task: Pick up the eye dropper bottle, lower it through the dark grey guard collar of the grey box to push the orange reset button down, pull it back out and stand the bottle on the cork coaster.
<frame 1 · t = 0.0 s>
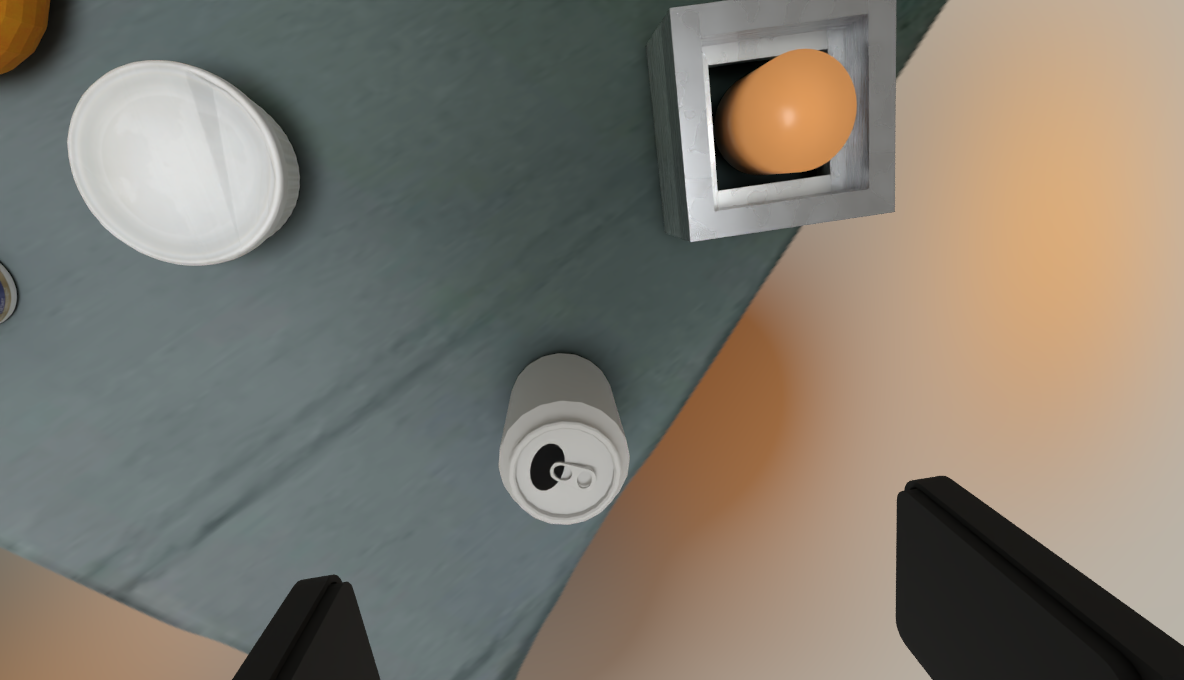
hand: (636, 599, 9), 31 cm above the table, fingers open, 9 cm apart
grey box: (743, 130, 37), on the table
ramekin: (230, 171, 36), on the table
reset button: (779, 118, 31), point 6 cm above the table, slide at 0.0 cm
can: (561, 396, 42), on the table
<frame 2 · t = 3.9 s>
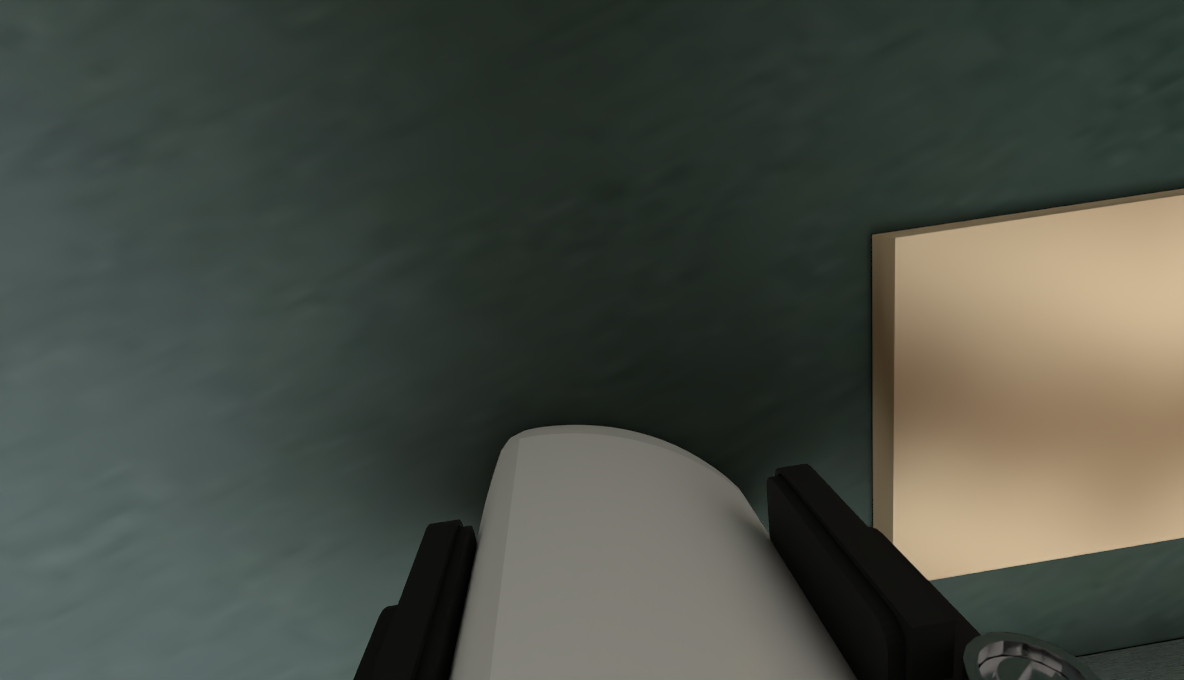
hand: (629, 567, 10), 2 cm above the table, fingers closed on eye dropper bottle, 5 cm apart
eye dropper bottle: (614, 491, 13), on the table, touching gripper
coaster: (1043, 386, 13), on the table
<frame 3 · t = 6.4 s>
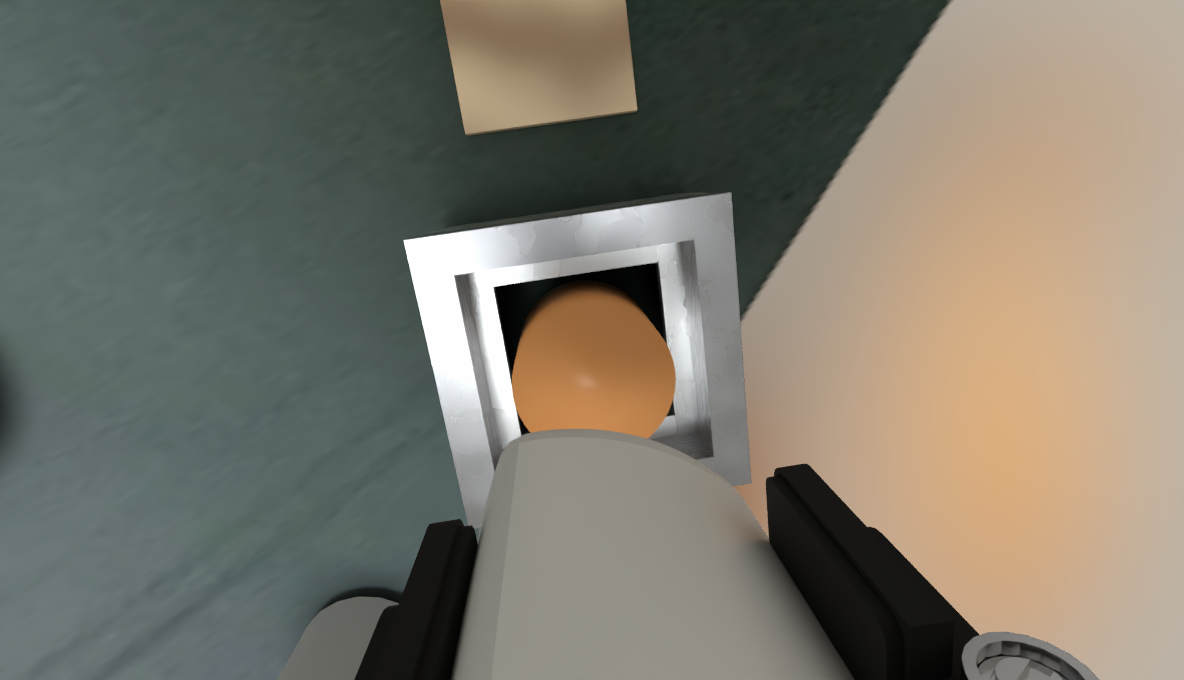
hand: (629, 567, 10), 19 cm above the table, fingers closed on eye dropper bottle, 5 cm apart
grey box: (581, 326, 29), on the table
eye dropper bottle: (613, 494, 13), point 17 cm above the table, touching gripper
coaster: (537, 31, 25), on the table
reset button: (589, 362, 23), point 6 cm above the table, slide at 0.0 cm
can: (374, 636, 33), on the table
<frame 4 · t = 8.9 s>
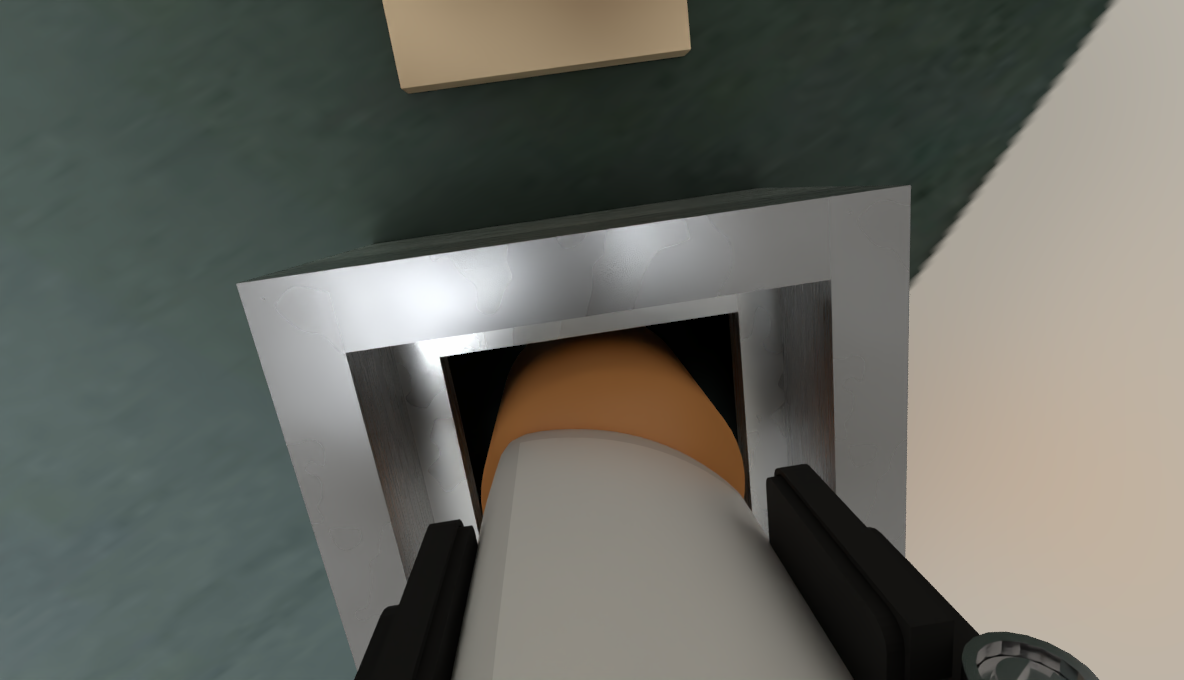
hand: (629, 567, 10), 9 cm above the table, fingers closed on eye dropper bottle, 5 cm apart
grey box: (594, 397, 19), on the table
eye dropper bottle: (614, 495, 13), point 6 cm above the table, touching gripper
reset button: (604, 442, 15), point 3 cm above the table, slide at 2.8 cm
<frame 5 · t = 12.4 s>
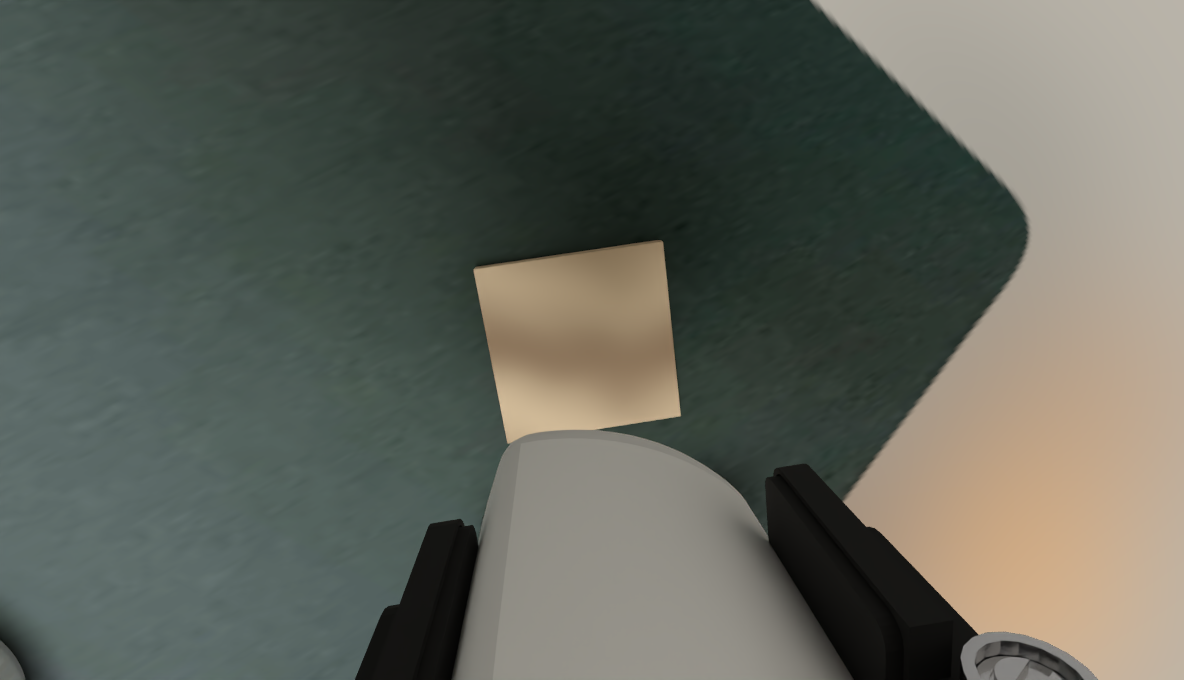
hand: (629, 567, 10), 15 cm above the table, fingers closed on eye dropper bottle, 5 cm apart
eye dropper bottle: (615, 496, 13), point 13 cm above the table, touching gripper
coaster: (581, 341, 25), on the table
when the fingers open (4 cm above the table, at t = 15.2 s): eye dropper bottle stays where it is, resting on coaster.
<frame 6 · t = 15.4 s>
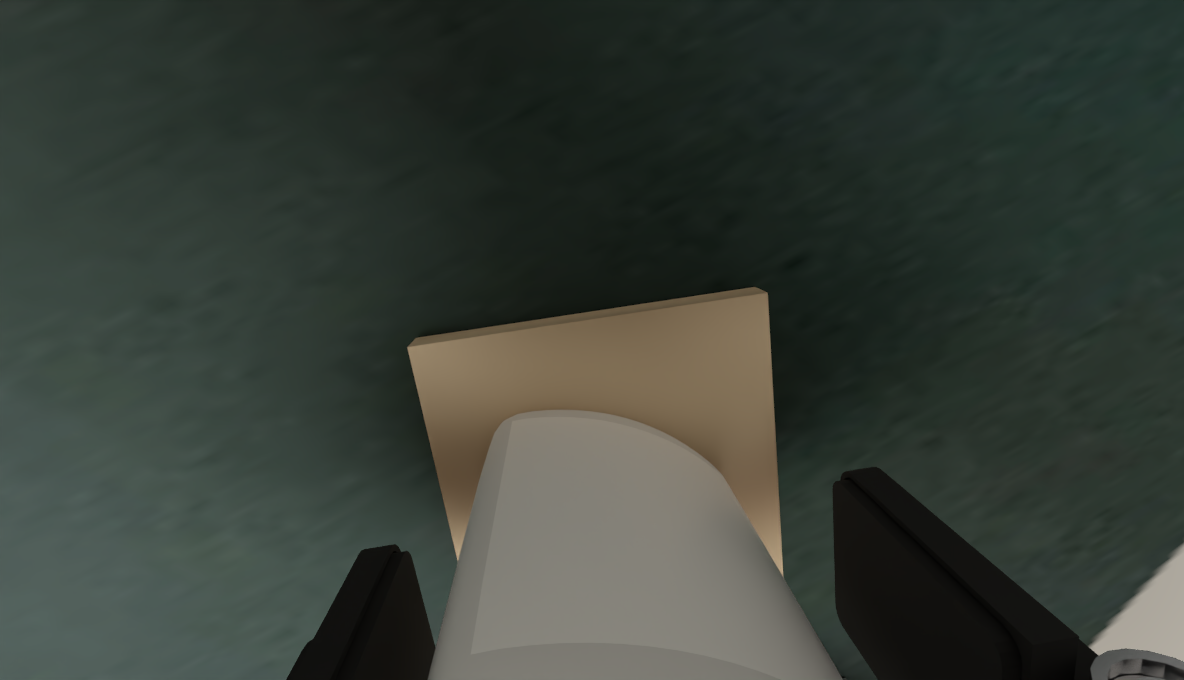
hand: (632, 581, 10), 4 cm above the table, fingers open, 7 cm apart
eye dropper bottle: (602, 474, 13), point 1 cm above the table, touching coaster
coaster: (609, 465, 14), on the table
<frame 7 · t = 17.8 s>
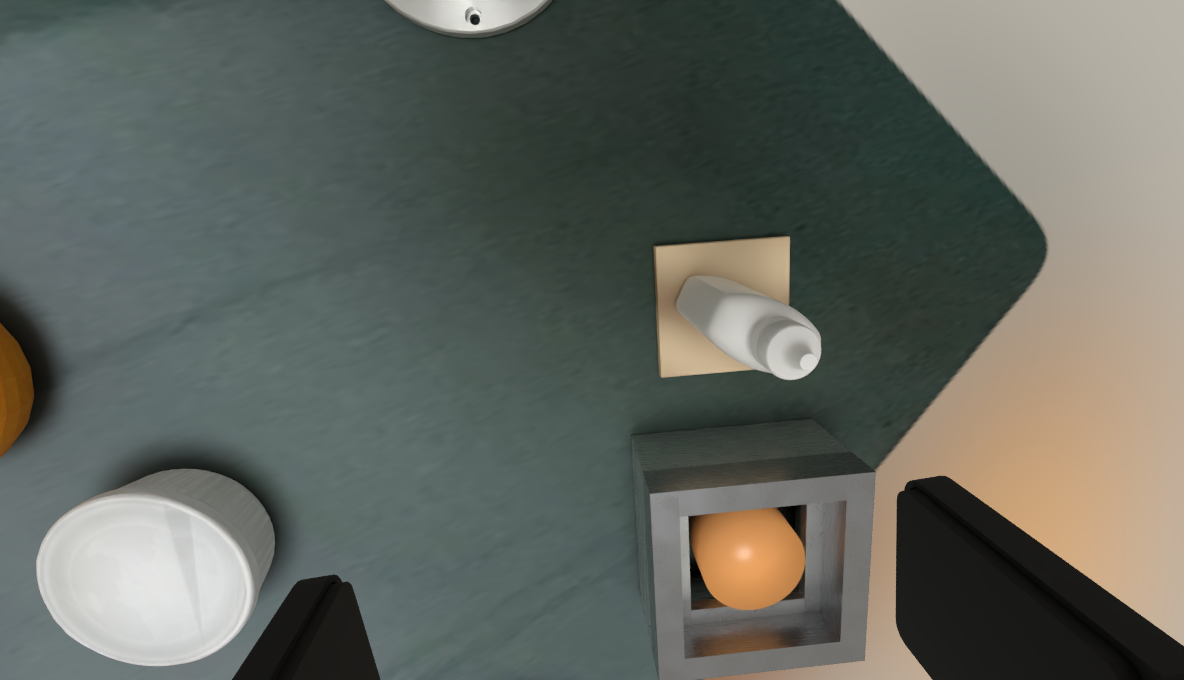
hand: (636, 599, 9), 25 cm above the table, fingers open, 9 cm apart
grey box: (723, 508, 38), on the table
eye dropper bottle: (719, 306, 34), point 1 cm above the table, touching coaster
ramekin: (205, 529, 36), on the table
coaster: (720, 306, 34), on the table
reset button: (738, 537, 34), point 3 cm above the table, slide at 2.9 cm
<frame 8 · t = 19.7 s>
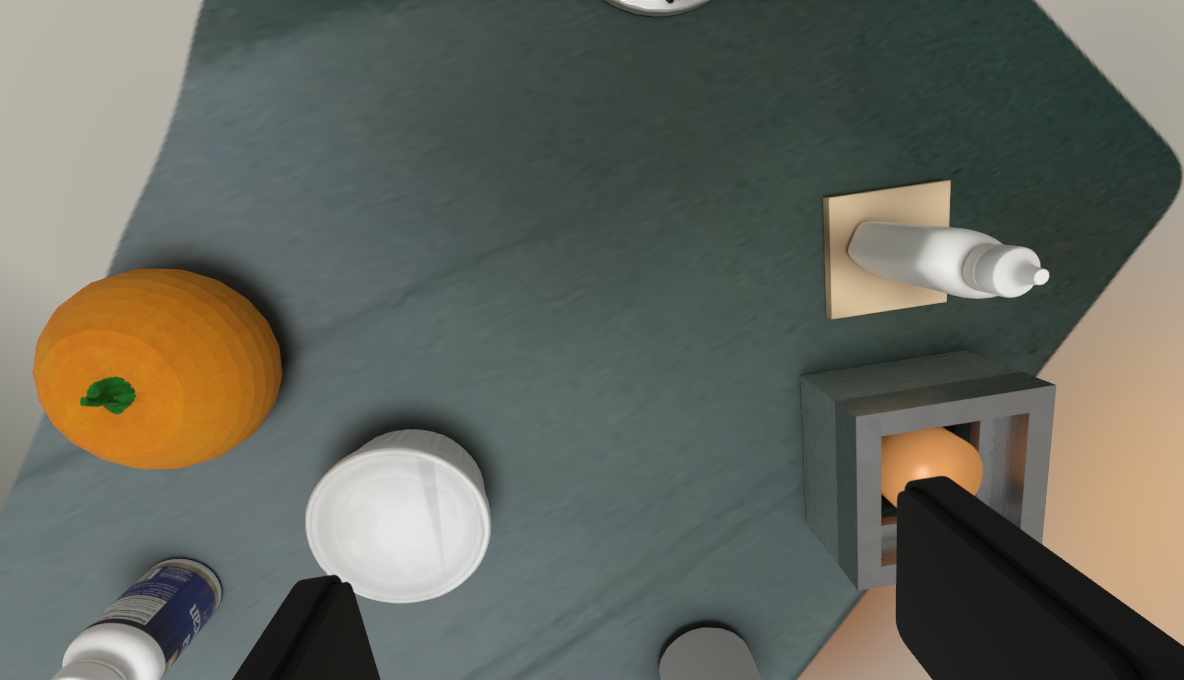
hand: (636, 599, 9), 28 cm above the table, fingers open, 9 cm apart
grey box: (882, 439, 41), on the table
fruit: (210, 350, 36), on the table
eye dropper bottle: (884, 249, 37), point 1 cm above the table, touching coaster
pill bottle: (187, 586, 40), on the table
ramekin: (418, 485, 40), on the table
coaster: (882, 250, 37), on the table
reset button: (910, 460, 38), point 3 cm above the table, slide at 2.9 cm
can: (701, 655, 45), on the table
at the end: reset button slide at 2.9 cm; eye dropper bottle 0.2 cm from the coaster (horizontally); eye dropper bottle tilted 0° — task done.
